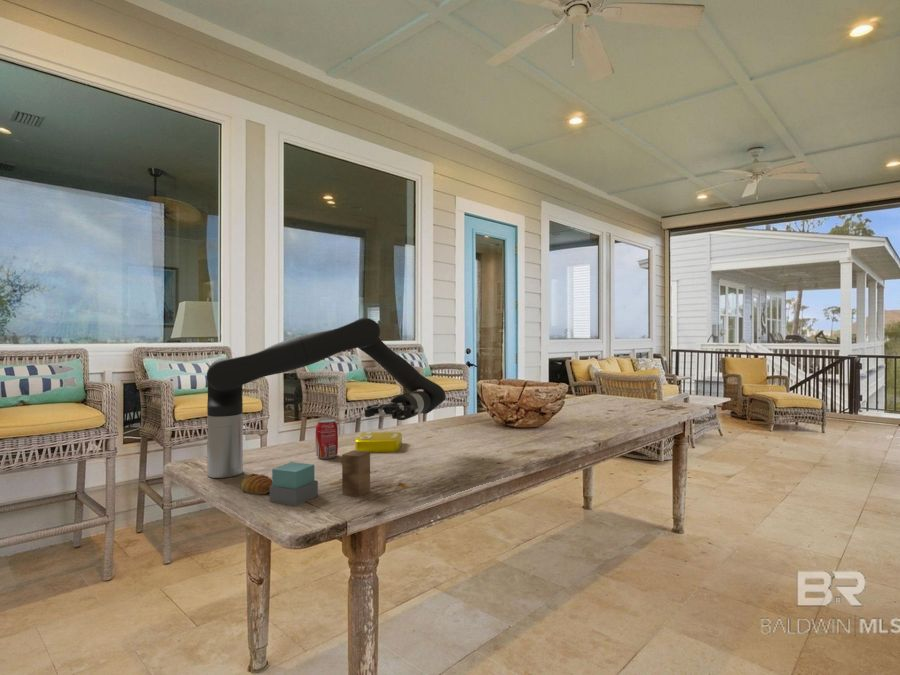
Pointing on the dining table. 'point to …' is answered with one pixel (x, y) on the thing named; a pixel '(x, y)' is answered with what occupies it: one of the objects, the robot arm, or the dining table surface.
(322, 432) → the soda can
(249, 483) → the pastry
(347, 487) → the walnut pillar
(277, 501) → the tower base slab
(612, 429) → the dining table surface
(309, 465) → the tower top slab
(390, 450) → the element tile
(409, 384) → the robot arm
